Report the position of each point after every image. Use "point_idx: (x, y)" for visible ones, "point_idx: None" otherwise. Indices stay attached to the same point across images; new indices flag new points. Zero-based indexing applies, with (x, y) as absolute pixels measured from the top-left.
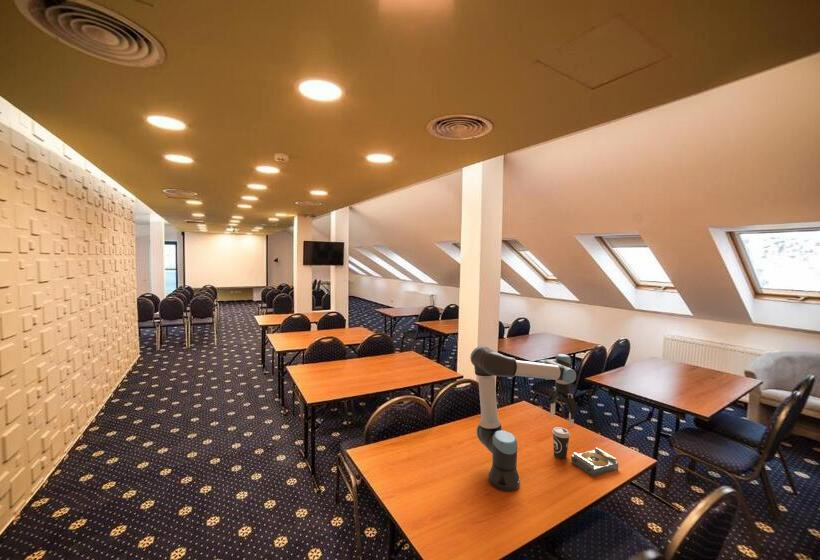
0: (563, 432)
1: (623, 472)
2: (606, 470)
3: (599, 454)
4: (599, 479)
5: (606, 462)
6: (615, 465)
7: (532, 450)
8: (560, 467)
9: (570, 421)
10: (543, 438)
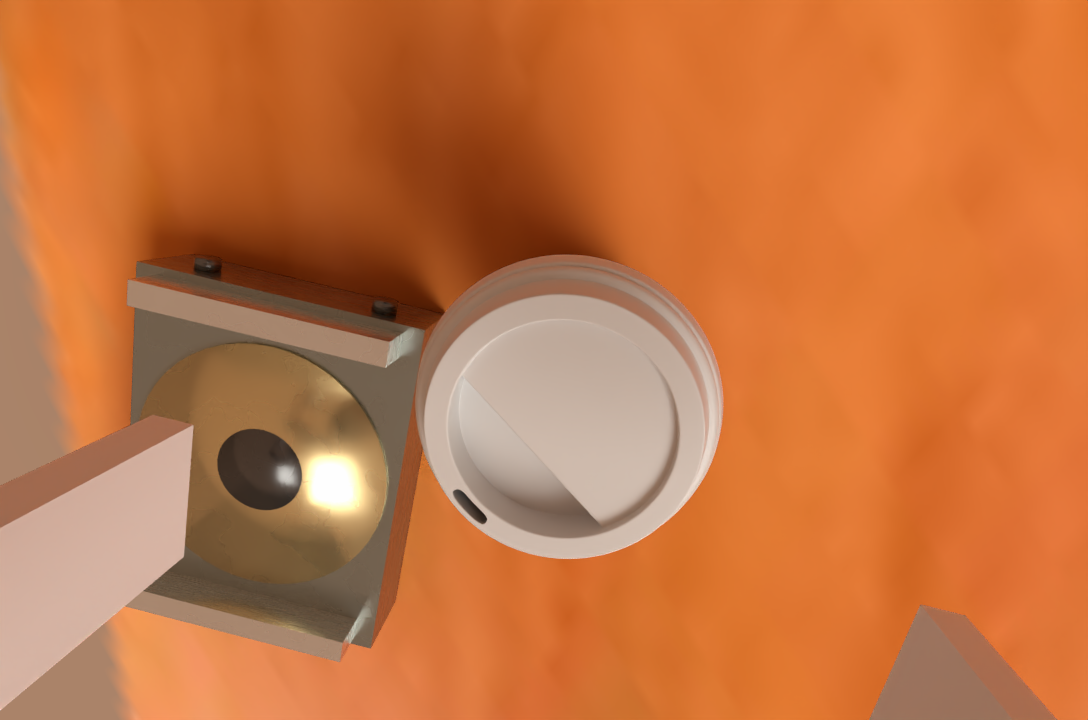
0: (495, 407)
1: None
2: None
3: (295, 589)
4: None
5: None
6: None
7: (851, 155)
8: (446, 121)
9: (63, 476)
10: (915, 514)
